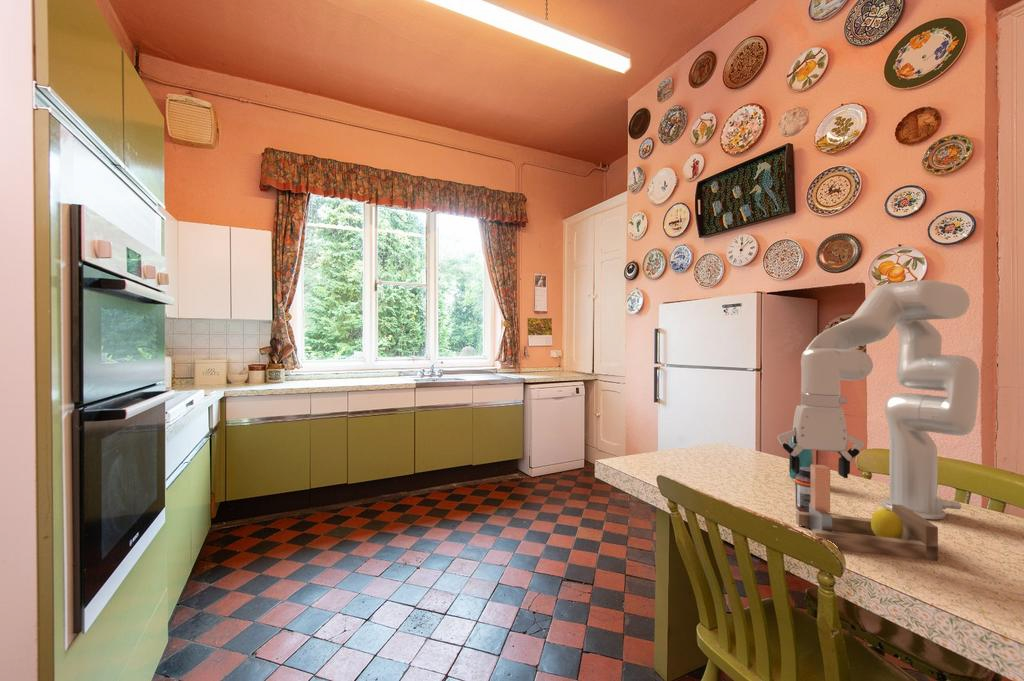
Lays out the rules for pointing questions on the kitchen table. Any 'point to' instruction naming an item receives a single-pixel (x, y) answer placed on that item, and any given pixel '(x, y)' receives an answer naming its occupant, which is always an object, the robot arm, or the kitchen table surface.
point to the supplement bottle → (803, 489)
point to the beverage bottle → (801, 459)
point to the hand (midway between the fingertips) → (818, 474)
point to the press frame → (913, 542)
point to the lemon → (886, 524)
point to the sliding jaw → (820, 498)
